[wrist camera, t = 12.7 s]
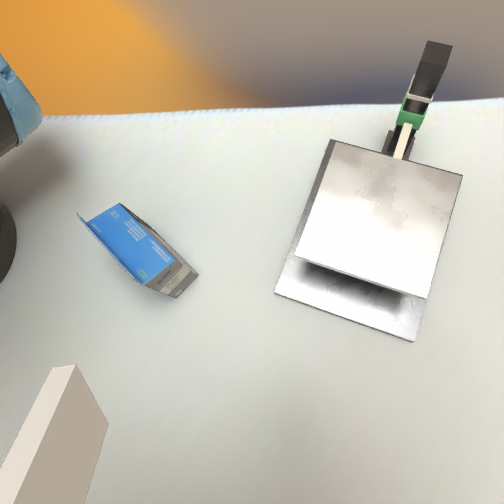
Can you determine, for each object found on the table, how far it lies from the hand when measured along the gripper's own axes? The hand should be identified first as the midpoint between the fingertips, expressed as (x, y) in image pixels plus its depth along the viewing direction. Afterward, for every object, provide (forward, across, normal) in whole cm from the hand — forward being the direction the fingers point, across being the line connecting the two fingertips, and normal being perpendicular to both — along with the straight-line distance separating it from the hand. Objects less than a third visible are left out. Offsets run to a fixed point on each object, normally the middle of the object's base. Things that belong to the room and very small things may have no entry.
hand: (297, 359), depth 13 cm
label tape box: (+34, -14, -14) cm, 39 cm away
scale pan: (+32, +10, -13) cm, 36 cm away
